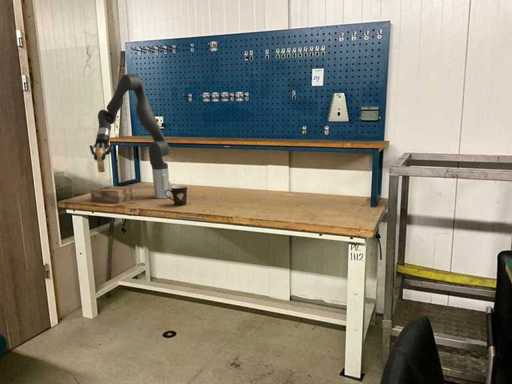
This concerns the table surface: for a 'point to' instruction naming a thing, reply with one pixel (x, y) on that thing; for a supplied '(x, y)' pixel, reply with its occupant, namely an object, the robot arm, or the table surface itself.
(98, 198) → the brown rectangular block
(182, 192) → the coffee mug
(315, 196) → the table surface
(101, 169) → the wooden key
